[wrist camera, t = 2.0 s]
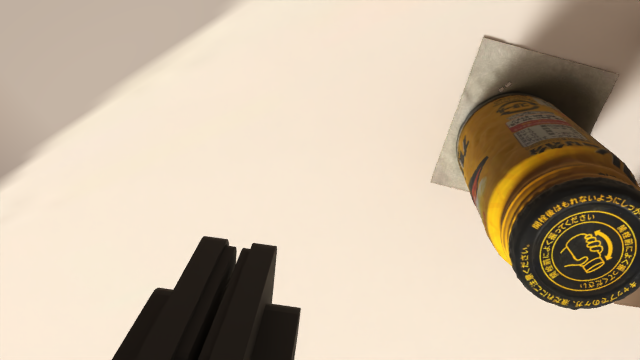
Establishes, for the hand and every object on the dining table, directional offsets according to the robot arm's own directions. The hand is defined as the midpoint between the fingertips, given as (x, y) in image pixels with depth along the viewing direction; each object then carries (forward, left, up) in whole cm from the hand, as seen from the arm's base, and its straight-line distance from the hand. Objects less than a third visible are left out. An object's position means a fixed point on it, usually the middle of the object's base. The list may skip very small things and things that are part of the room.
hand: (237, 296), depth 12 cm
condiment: (-11, 0, -19) cm, 22 cm away
